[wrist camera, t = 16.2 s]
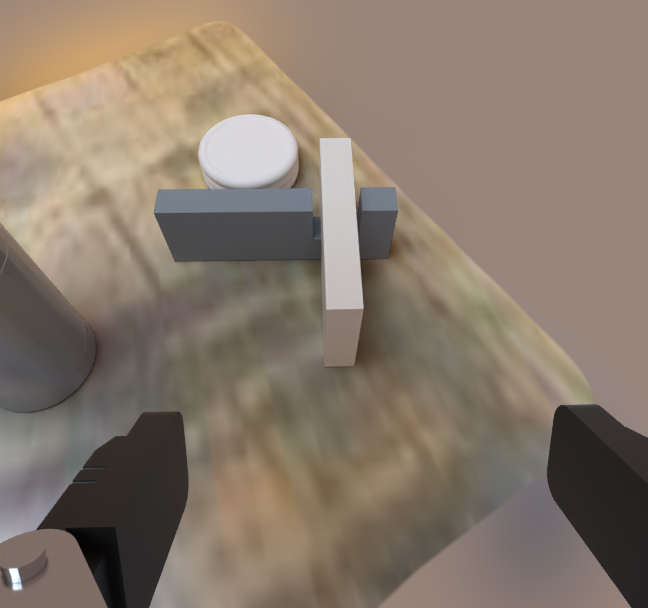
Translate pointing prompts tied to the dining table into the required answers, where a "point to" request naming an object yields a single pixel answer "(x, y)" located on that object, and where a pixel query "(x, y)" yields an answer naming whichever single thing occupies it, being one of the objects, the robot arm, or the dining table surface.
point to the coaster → (249, 154)
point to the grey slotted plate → (264, 223)
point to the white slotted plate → (339, 254)
